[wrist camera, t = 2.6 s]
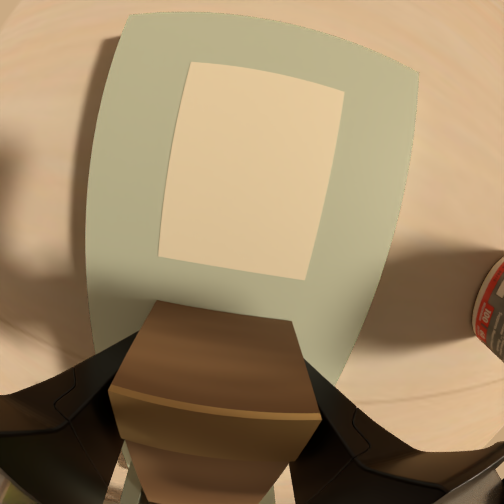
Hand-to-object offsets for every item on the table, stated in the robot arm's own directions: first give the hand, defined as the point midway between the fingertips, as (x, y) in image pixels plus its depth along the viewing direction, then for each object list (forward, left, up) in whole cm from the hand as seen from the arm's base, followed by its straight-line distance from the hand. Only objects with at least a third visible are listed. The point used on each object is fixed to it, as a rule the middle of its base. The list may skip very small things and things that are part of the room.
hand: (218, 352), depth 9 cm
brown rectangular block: (-4, 0, 0) cm, 5 cm away
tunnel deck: (-3, 0, -2) cm, 3 cm away
